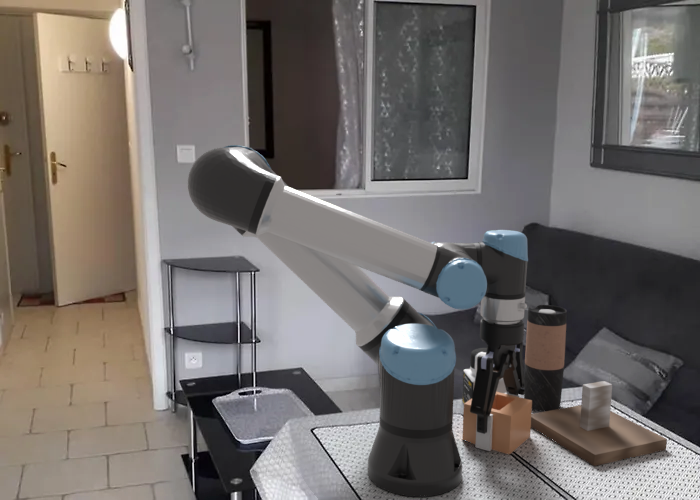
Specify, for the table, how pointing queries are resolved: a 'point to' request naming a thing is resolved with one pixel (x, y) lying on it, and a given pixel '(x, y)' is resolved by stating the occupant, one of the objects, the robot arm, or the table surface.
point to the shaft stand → (597, 429)
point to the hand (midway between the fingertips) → (497, 437)
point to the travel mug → (545, 356)
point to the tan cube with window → (502, 422)
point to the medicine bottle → (470, 376)
